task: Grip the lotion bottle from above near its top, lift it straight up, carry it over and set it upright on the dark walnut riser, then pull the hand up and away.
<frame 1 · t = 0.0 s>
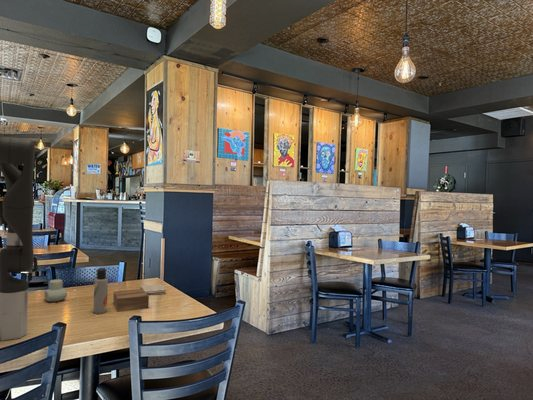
hand: (16, 282, 151), 17 cm above the table, tool pointing down, fingers open, 8 cm apart
lotion bottle: (100, 312, 170), on the table
washcloth: (152, 292, 209), on the table
air freshener: (55, 300, 185), on the table
walnut riser: (130, 305, 180), on the table
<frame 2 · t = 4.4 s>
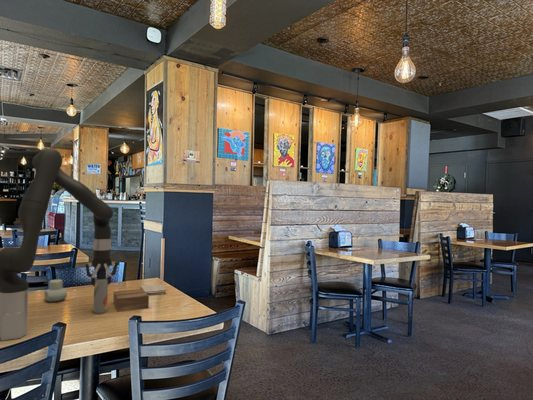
hand: (101, 284, 170), 13 cm above the table, tool pointing down, fingers closed on lotion bottle, 5 cm apart
lotion bottle: (100, 312, 170), on the table, touching gripper
everything else where it was.
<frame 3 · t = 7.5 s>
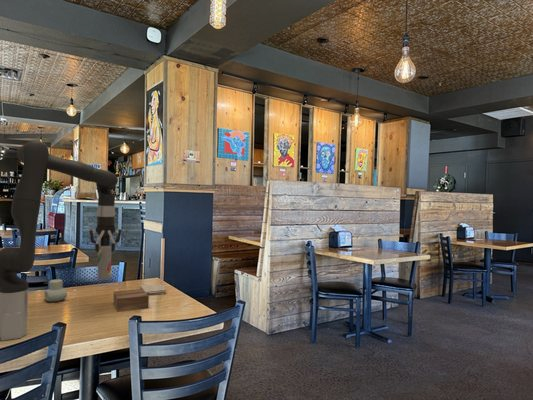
hand: (105, 251, 171), 28 cm above the table, tool pointing down, fingers closed on lotion bottle, 5 cm apart
lotion bottle: (104, 278, 171), point 15 cm above the table, touching gripper
everything else where it was.
when the fingers open (20 cm above the table, at t = 10.9 s): lotion bottle drops 1 cm, resting on walnut riser.
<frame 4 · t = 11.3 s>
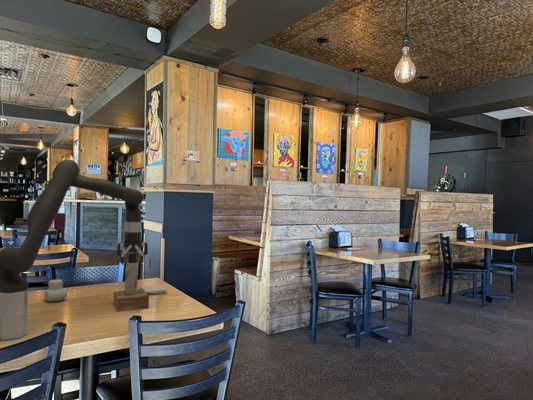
hand: (131, 264, 180), 21 cm above the table, tool pointing down, fingers open, 8 cm apart
lotion bottle: (130, 294, 180), point 6 cm above the table, touching walnut riser
everything else where it was.
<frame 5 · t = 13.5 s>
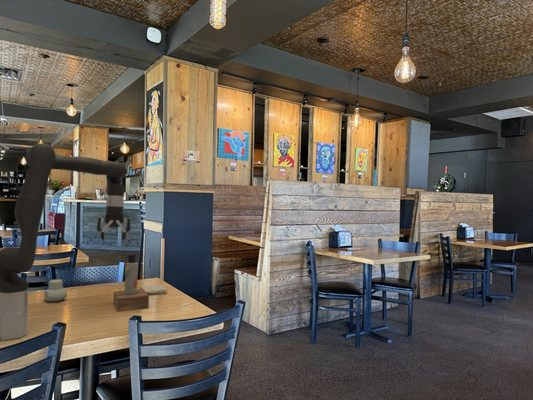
hand: (113, 240, 172), 33 cm above the table, tool pointing down, fingers open, 8 cm apart
nothing on the table moved.
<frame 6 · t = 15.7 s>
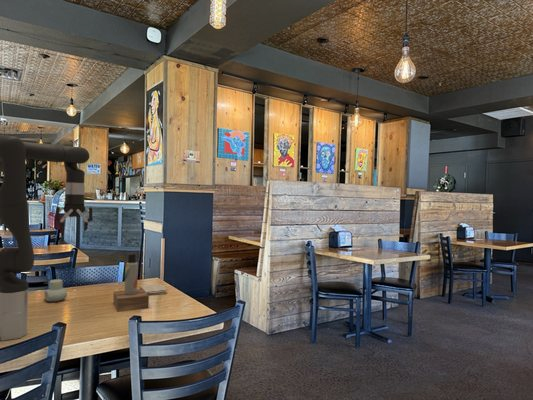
hand: (73, 230, 159), 38 cm above the table, tool pointing down, fingers open, 8 cm apart
nothing on the table moved.
at the end: lotion bottle inside the target area on the walnut riser (0.1 cm from its centre), point 5.8 cm above the walnut riser's base; lotion bottle tilted 0°; the gripper is holding nothing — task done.
